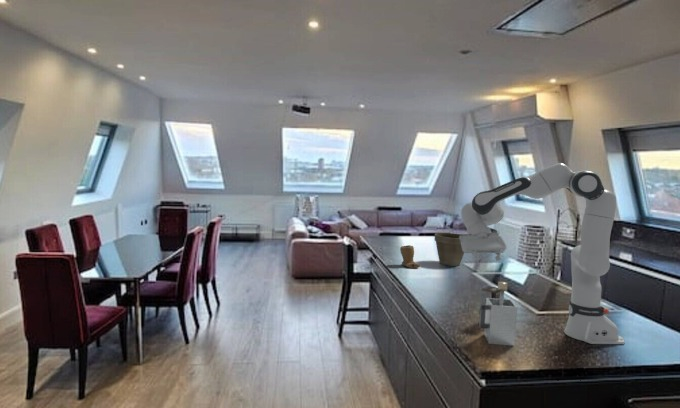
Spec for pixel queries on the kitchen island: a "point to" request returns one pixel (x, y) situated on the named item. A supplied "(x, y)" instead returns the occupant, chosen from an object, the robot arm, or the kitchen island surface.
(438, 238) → the plant pot
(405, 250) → the brown boot
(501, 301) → the plunger
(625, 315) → the kitchen island surface
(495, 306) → the press
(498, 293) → the coffee box
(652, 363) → the kitchen island surface
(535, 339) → the kitchen island surface
